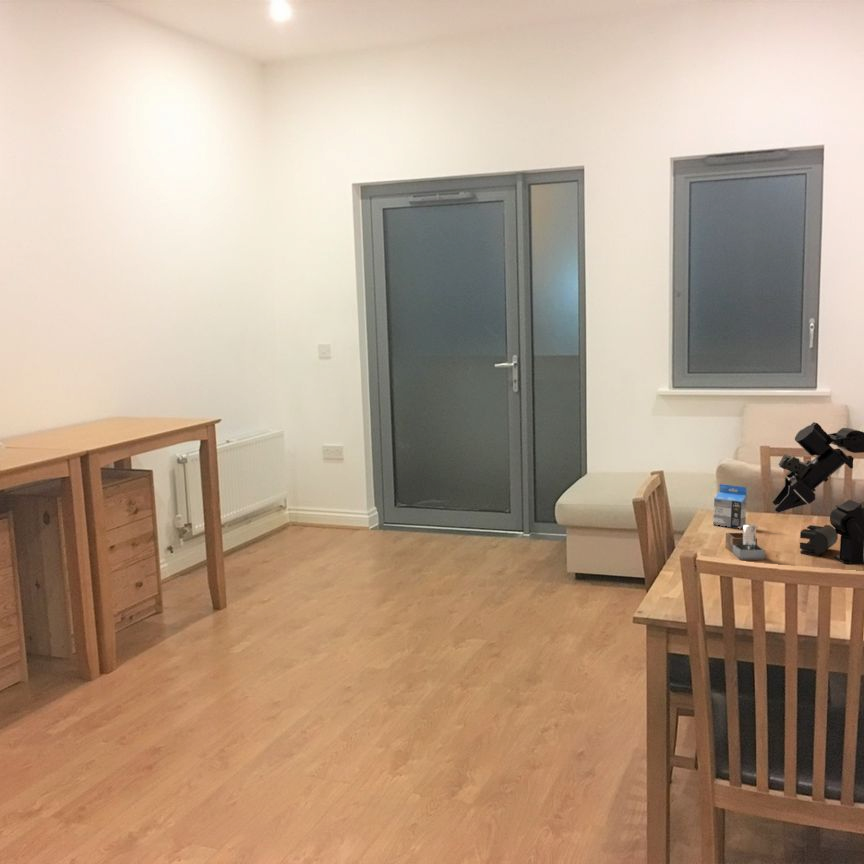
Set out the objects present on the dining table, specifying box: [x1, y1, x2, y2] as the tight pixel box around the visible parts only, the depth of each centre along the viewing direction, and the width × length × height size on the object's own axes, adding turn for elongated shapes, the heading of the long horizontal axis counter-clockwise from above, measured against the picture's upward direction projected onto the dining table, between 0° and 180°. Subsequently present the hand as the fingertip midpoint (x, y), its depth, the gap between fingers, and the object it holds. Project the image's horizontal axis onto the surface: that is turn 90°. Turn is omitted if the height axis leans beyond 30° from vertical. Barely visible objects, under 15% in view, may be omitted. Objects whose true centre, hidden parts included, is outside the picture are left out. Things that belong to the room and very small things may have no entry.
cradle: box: [732, 543, 766, 561], centre depth 242 cm, size 6×6×2 cm
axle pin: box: [742, 523, 757, 550], centre depth 242 cm, size 3×3×8 cm
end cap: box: [799, 524, 839, 557], centre depth 246 cm, size 10×7×7 cm
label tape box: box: [712, 483, 748, 530], centre depth 276 cm, size 9×4×12 cm, turn 48°
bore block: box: [725, 532, 758, 554], centre depth 249 cm, size 6×6×4 cm
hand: (775, 507), depth 239 cm, fingers open, 9 cm apart
